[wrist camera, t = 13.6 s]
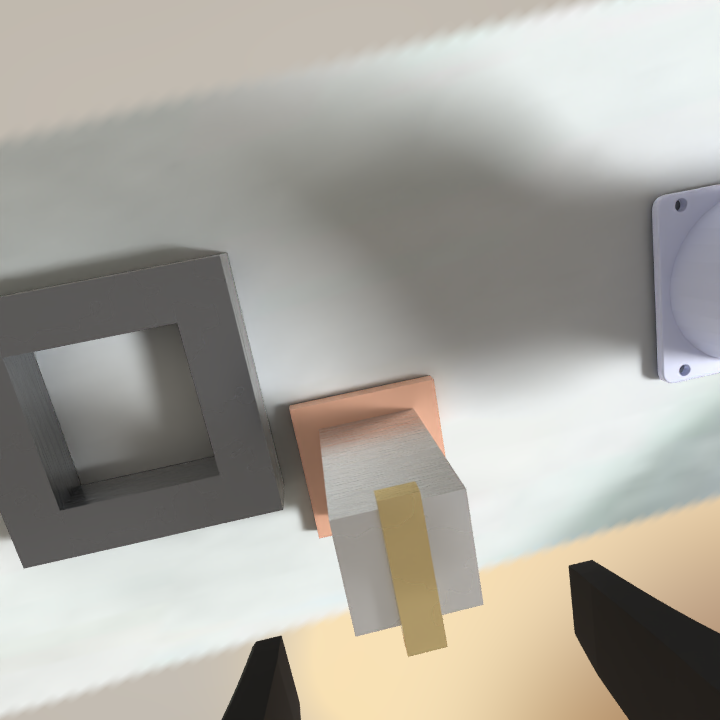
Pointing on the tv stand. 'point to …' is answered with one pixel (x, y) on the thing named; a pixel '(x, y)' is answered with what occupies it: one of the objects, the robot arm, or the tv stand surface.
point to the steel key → (399, 528)
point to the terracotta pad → (353, 409)
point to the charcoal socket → (150, 488)
